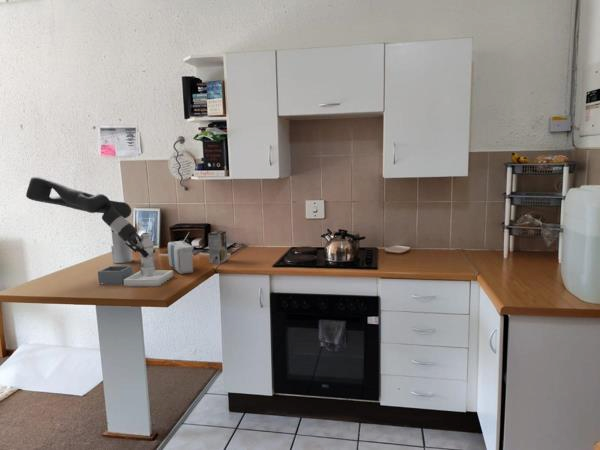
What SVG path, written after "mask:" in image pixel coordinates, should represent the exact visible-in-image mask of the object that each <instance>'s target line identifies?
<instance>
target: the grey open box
mask: <svg viewBox="0 0 600 450" xmlns="http://www.w3.org/2000/svg"><path fill="white" fill-rule="evenodd" d="M133 274H134V272H133V266H132V265H109V266H107V267H105V268H102V269H100V270H98V271H97V276H98V284H99V283H103V284H102V285H124V284H123V283H124V279H126V278H128V277H130V276H131V275H133Z"/></svg>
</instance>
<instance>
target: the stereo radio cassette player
mask: <svg viewBox="0 0 600 450" xmlns="http://www.w3.org/2000/svg"><path fill="white" fill-rule="evenodd" d="M189 234H190V231H188V233H187V235H186V236H185V238H184V239H183V240H179V241H178V240H177V241H169V242H168V243H167V255H168V256H167V257H168V264H169V266H170V267H172V269H174V271H176V272H177V273H179V274H180V275H184V274H189V273H191V274H192V273H193V272H194V264H193V263H194V262H193V261H194V260H193V250H194V246H193V245H191V244H189V243H187V242H186V241H185V240H186V239H187V237H188V235H189Z"/></svg>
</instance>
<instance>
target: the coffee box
mask: <svg viewBox="0 0 600 450" xmlns="http://www.w3.org/2000/svg"><path fill="white" fill-rule="evenodd" d="M207 240H208V241H207V243H208V256H209V257H208V258H209V264H215V265H218V264H220V265H221V264H222V263H225V262H226V261H228V249H227V248H228V247H227V233H226V230H225V231H224V230H214V231H212V232H209V233H207Z"/></svg>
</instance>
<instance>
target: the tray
mask: <svg viewBox="0 0 600 450" xmlns="http://www.w3.org/2000/svg"><path fill="white" fill-rule="evenodd" d="M173 277H174V270H170V269H169V270H165V269H164V270H163V269H162V270H160V269H158V270H156V273H155V275H154V276H151V277H143V276H142V274H141V270H139V271H137V272H135V273H133V275H131V276H130V277H128V278H126V279H124V284H123V287H160V286H162V285H163V284H165V283H166V282H167V280H168V281H169V280H171V279H172V278H173ZM170 278H171V279H170ZM164 282H165V283H164ZM162 283H163V284H162ZM161 284H162V285H161ZM159 285H160V286H159Z"/></svg>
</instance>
